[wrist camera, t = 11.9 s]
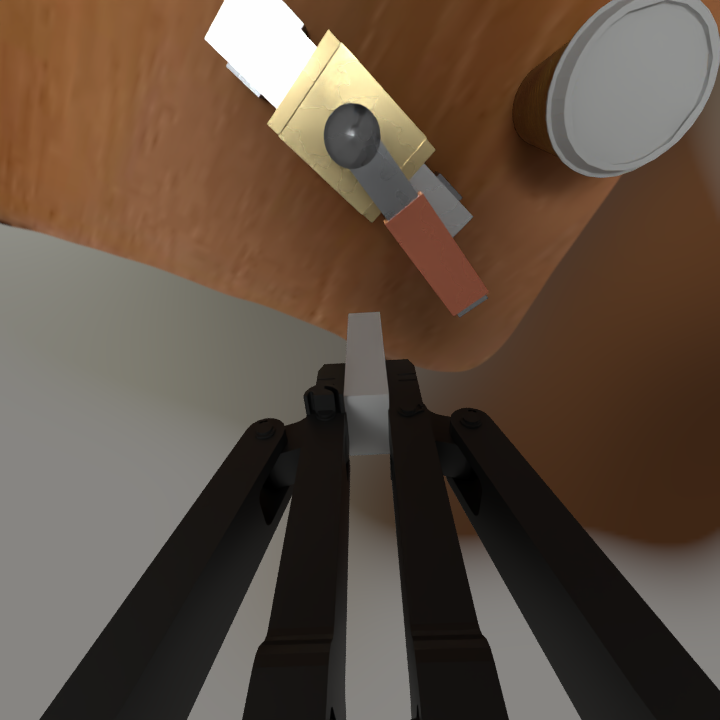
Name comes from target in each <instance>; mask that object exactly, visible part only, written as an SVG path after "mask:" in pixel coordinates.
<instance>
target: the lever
mask: <svg viewBox="0 0 720 720" xmlns="http://www.w3.org/2000/svg"><path fill="white" fill-rule="evenodd" d="M380 139H381V134H380V127H379V124H378V121H377V119H376V117H375V116H374V114H373V113H372V112H371V111H370V110H369V109H368V108H366V107H365V106H363V105H361V104H357V103H346V104H343V105H341V106H339V107H337V108H336V109H335V110H334V111H333V112H332V113H331V114H330V116H329V117H328V119H327V121H326V124H325V128H324V143H325V147H326V150H327V152H328V154H329V156H330V157H331V158H332V160H333V161H334V162H335V163H337V164H338V165H340V166H342V167H344V168H348V169H350V171H351V172H352V173H353V175H354V176H355V177H356V179H357V180H358V181H359V183H360V184H361V186H362V187H363V188H364V190H365V191H366V192H367V194H368V195H369V196H370V198H371V199H372V200H373V202H374V203H375V204H376V206H377V207H378V208H379V210H380V211H381V212H382V214H383V215H384V216H385V218H386V219H385V220H384V223H385V226H386V227H387V228H388V230H389V231H390V232H391V234H392V235H393V236H394V238H395V239H396V240H397V242H398V243H399V244H400V246H401V247H402V248H403V250H404V251H405V252H406V254H407V255H408V256H409V258H410V259H411V260H412V262H413V263H414V264H415V266H416V267H417V268H418V270H419V271H420V272H421V274H422V275H423V276H424V278H425V279H426V280H427V282H428V283H429V284H430V286H431V287H432V288H433V290H434V291H435V292H436V294H437V295H438V296H439V298H440V299H441V300H442V302H443V303H444V304H445V306H446V307H447V308H448V310H449V311H450V312H451V314H452V315H453V316H455V315H458V316H459V318H460V317H461V316H462V315H464V314H465V313H467V312H468V311H470V310H471V309H473V308H474V307H476V306H477V305H479V304H480V303H482V302H483V301H485V300H486V299H488V297H487V296H486V294H487V293H489V291H488V289H487V288H486V286H485V285H484V284H483V282H482V281H481V279H480V278H479V276H478V275H477V273H476V272H475V270H474V269H473V267H472V266H471V264H470V263H469V261H468V260H467V258H466V257H465V255H464V254H463V252H462V251H461V249H460V248H459V246H458V245H457V243H456V242H455V240H454V239H453V237H452V236H451V234H450V233H449V232H448V230H447V229H446V227H445V226H444V224H443V223H442V221H441V220H440V218H439V217H438V215H437V214H436V212H435V211H434V209H433V208H432V206H431V205H430V203H429V202H428V200H427V199H426V197H425V196H424V194H423V193H422V192H421V191H419V192H418V193H416V191H415V190H414V188H413V187H412V185H411V184H410V182H409V181H408V180H407V178H406V177H405V175H404V174H403V172H402V171H401V169H400V168H399V166H398V165H397V163H396V162H395V160H394V159H393V158H392V156H391V155H390V153H389V152H388V150H387V149H386V147H385V146H384V144H383V143H382V141H381V140H380Z"/></svg>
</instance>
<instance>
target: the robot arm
mask: <svg viewBox="0 0 720 720" xmlns="http://www.w3.org/2000/svg"><path fill="white" fill-rule="evenodd" d="M304 402H305V408H306V414H307V417H306V418H304V419H303V420H301V421H299V422H297V423H294V424H290V425H286V426H284V423H282V422H281V421H280V420H277V419H274V418H268V419H263V420H259V421H257V422H255V423H253V424H252V425H251V426H250V427H249V428H248V429H247V430H246V431H245V433H244V434H243V435H242V437H241V438H240V440H239V441H238V442H237V444H236V445H235V447H234V448H233V449H232V451H231V452H230V454H229V455H228V457H227V458H226V459H225V461H224V462H223V464H222V465H221V467H220V468H219V469H218V471H217V472H216V473H215V475H214V476H213V477H212V479H211V480H210V482H209V483H208V485H207V486H206V487H205V489H204V490H203V491H202V493H201V494H200V496H199V497H198V498H197V500H196V501H195V503H194V504H193V505H192V507H191V508H190V510H189V511H188V513H187V514H186V515H185V517H184V518H183V520H182V521H181V522H180V524H179V525H178V526H177V528H176V529H175V531H174V532H173V534H172V535H171V536H170V538H169V539H168V541H167V542H166V543H165V545H164V546H163V547H162V549H161V550H160V552H159V553H158V554H157V556H156V557H155V559H154V560H153V561H152V563H151V564H150V566H149V567H148V568H147V570H146V571H145V573H144V574H143V575H142V577H141V578H140V580H139V581H138V582H137V584H136V585H135V587H134V588H133V589H132V591H131V592H130V594H129V595H128V596H127V598H126V599H125V601H124V602H123V603H122V605H121V606H120V608H119V609H118V610H117V612H116V613H115V615H114V616H113V617H112V619H111V621H110V622H109V623H108V624H107V626H106V627H105V629H104V630H103V631H102V633H101V634H100V636H99V637H98V638H97V640H96V641H95V643H94V644H93V645H92V647H91V648H90V650H89V651H88V653H87V654H86V655H85V657H84V658H83V659H82V661H81V662H80V664H79V665H78V666H77V668H76V670H75V671H74V672H73V673H72V675H71V676H70V678H69V679H68V680H67V682H66V683H65V685H64V686H63V687H62V689H61V690H60V692H59V693H58V694H57V696H56V697H55V699H54V700H53V701H52V703H51V704H50V706H49V707H48V708H47V710H46V711H45V713H44V714H43V715H42V717H41V718H40V720H187V718H188V716H189V713H190V712H191V709H192V707H193V705H194V703H195V701H196V699H197V697H198V695H199V692H200V690H201V688H202V686H203V684H204V682H205V679H206V677H207V675H208V673H209V671H210V669H211V667H212V665H213V662H214V660H215V658H216V656H217V654H218V652H219V650H220V648H221V645H222V643H223V641H224V639H225V637H226V635H227V633H228V631H229V628H230V626H231V624H232V622H233V620H234V617H235V616H236V613H237V611H238V609H239V607H240V605H241V603H242V601H243V599H244V596H245V594H246V592H247V590H248V588H249V586H250V583H251V581H252V579H253V577H254V575H255V573H256V571H257V569H258V567H259V564H260V562H261V560H262V558H263V556H264V554H265V551H266V549H267V547H268V545H269V543H270V541H271V539H272V537H273V534H274V532H275V530H276V528H277V526H278V524H279V522H280V520H281V517H282V515H283V513H284V511H285V509H286V507H287V505H288V503H289V500H290V498H291V496H292V499H291V505H290V511H289V516H288V522H287V527H286V533H285V538H284V544H283V549H282V555H281V561H280V566H279V572H278V577H277V583H276V588H275V594H274V599H273V605H272V610H271V617H270V621H269V627H268V632H267V636H266V638H265V641H264V642H263V643H262V644H261V645H260V646H259V648H258V650H257V653H256V655H255V660H254V663H253V668H252V673H251V678H250V683H249V688H248V693H247V698H246V703H245V708H244V713H243V719H242V720H346V704H345V663H346V621H347V580H348V537H349V496H350V460H349V453H350V456H351V455H373V454H390V470H391V480H392V489H393V501H394V511H395V523H396V535H397V546H398V558H399V569H400V580H401V592H402V603H403V613H404V625H405V637H406V648H407V660H408V671H409V683H410V696H411V697H410V698H411V716H412V719H411V720H509V718H508V714H507V710H506V707H505V702H504V698H503V694H502V690H501V686H500V683H499V679H498V674H497V670H496V666H495V662H494V659H493V655H492V652H491V648H490V646H489V644H488V641H487V639H486V638H485V637H484V636H483V635H482V633H481V631H480V628H479V624H478V621H477V616H476V612H475V608H474V604H473V600H472V595H471V591H470V587H469V583H468V579H467V574H466V570H465V566H464V562H463V558H462V553H461V549H460V545H459V541H458V536H457V533H456V528H455V524H454V519H453V515H452V511H451V507H450V502H449V498H448V494H447V490H446V486H445V481H444V477H443V475H444V476H446V478H447V481H448V482H449V484H450V486H451V488H452V490H453V491H454V493H455V495H456V497H457V499H458V500H459V502H460V504H461V506H462V508H463V509H464V511H465V513H466V515H467V516H468V518H469V520H470V522H471V524H472V525H473V527H474V529H475V530H476V532H477V534H478V536H479V538H480V539H481V541H482V543H483V545H484V547H485V548H486V550H487V552H488V554H489V556H490V557H491V559H492V561H493V563H494V565H495V566H496V568H497V570H498V572H499V573H500V575H501V577H502V579H503V580H504V582H505V584H506V586H507V587H508V589H509V591H510V593H511V595H512V596H513V598H514V600H515V602H516V604H517V605H518V607H519V609H520V611H521V613H522V614H523V616H524V618H525V620H526V621H527V623H528V625H529V627H530V629H531V630H532V632H533V634H534V636H535V637H536V639H537V641H538V643H539V645H540V646H541V648H542V650H543V652H544V653H545V655H546V657H547V659H548V660H549V662H550V664H551V666H552V668H553V669H554V671H555V673H556V675H557V676H558V678H559V680H560V682H561V684H562V686H563V687H564V689H565V691H566V692H567V694H568V696H569V698H570V700H571V701H572V703H573V705H574V707H575V709H576V710H577V712H578V714H579V716H580V718H581V719H582V720H720V690H719V689H718V688H717V687H716V686H715V684H714V683H713V682H712V681H711V680H710V679H709V677H708V676H707V675H706V674H705V673H704V671H703V670H702V669H701V668H700V667H699V665H698V664H697V663H696V662H695V661H694V660H693V658H692V657H691V656H690V655H689V654H688V652H687V651H686V650H685V649H684V648H683V646H682V645H681V644H680V643H679V642H678V640H677V639H676V638H675V637H674V636H673V634H672V633H671V632H670V631H669V630H668V629H667V627H666V626H665V625H664V624H663V623H662V621H661V620H660V619H659V618H658V617H657V616H656V614H655V613H654V612H653V611H652V610H651V608H650V607H649V606H648V605H647V604H646V602H645V601H644V600H643V599H642V598H641V596H640V595H639V594H638V593H637V592H636V590H635V589H634V588H633V587H632V586H631V584H630V583H629V582H628V581H627V580H626V579H625V577H624V576H623V575H622V574H621V573H620V571H619V570H618V569H617V568H616V567H615V565H614V564H613V563H612V562H611V561H610V560H609V558H608V557H607V556H606V555H605V554H604V552H603V551H602V550H601V549H600V548H599V546H598V545H597V544H596V543H595V542H594V541H593V539H592V538H591V537H590V536H589V535H588V533H587V532H586V531H585V530H584V529H583V528H582V526H581V525H580V524H579V523H578V521H577V520H576V519H575V518H574V517H573V515H572V514H571V513H570V512H569V511H568V510H567V508H566V507H565V506H564V505H563V504H562V502H561V501H560V500H559V499H558V498H557V496H556V495H555V494H554V493H553V492H552V490H551V489H550V488H549V487H548V486H547V485H546V483H545V482H544V481H543V480H542V479H541V477H540V476H539V475H538V474H537V473H536V471H535V470H534V469H533V468H532V467H531V466H530V464H529V463H528V462H527V461H526V460H525V458H524V457H523V456H522V455H521V454H520V452H519V451H518V450H517V449H516V448H515V446H514V445H513V444H512V443H511V442H510V441H509V439H508V438H507V437H506V436H505V434H504V433H503V432H502V431H501V430H500V429H499V427H498V426H497V425H496V424H495V423H494V421H493V420H492V419H491V418H490V417H489V416H488V415H487V414H486V413H484V412H482V411H480V410H478V409H473V408H461V409H459V410H457V411H455V412H454V413H453V414H452V415H451V417H448V416H442V415H438V414H435V413H433V412H431V411H429V410H428V409H427V408H426V406H425V404H423V402H422V398H421V393H420V389H419V385H418V381H417V376H416V372H415V367H414V365H413V364H412V363H411V362H410V361H409V360H408V359H402V360H385V355H384V346H383V337H382V328H381V318H380V312H367V313H349V314H348V331H347V348H346V363H341V364H324V365H323V367H322V368H321V369H320V370H319V371H318V376H317V382H316V386H313V387H311V388H309V389H308V390H307V391H306V392H305V394H304Z"/></svg>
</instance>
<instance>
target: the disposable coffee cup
mask: <svg viewBox="0 0 720 720" xmlns="http://www.w3.org/2000/svg"><path fill="white" fill-rule="evenodd" d="M719 62H720V39H719V33H718V28H717V24H716V22H715V20H714V18H713V16H712V14H711V12H710V10H709V9H708V8H707V7H706V6H705V5H704V4H703V3H702V2H701V1H700V0H612V1H611V2H609V3H608V4H606V5H605V6H603V7H602V8H601V9H599V10H598V11H597V12H596V13H595V14H594V15H593V16H591V17H590V18H589V19H588V20H587V21H586V22H585V24H584V25H583V26H582V27H581V28H580V29H579V30H578V31H577V33H576V34H575V35H574V36H573V38H572V39H571V40H570V41H569V42H568V43H566V44H565V45H564V46H562V47H561V48H560V49H559V50H557V51H556V52H555V53H553V54H552V55H551V56H550V57H548V58H547V59H546V60H545V61H543V62H542V63H541V64H539V65H538V66H537V67H535V68H534V69H533V70H532V71H531V72H530V73H529V74H528V75H527V76H526V78H525V79H524V80H523V82H522V84H521V85H520V87H519V89H518V91H517V94H516V96H515V100H514V104H513V122H514V125H515V129H516V131H517V133H518V134H519V136H520V137H521V138H522V139H523V140H524V141H525V142H527V143H529V144H531V145H533V146H535V147H538V148H540V149H542V150H544V151H546V152H549V153H551V154H553V155H555V156H557V157H559V158H560V159H561V161H562V162H563V163H564V164H566V165H567V166H568V167H569V168H570V169H572V170H574V171H576V172H578V173H580V174H582V175H585V176H591V177H599V178H603V177H612V176H618V175H621V174H624V173H627V172H630V171H633V170H635V169H637V168H638V167H640V166H642V165H644V164H646V163H648V162H650V161H652V160H654V159H656V158H657V157H658V156H660V155H661V154H663V153H664V152H665V151H667V150H668V149H669V148H670V147H672V146H673V145H674V144H675V143H676V142H678V141H679V140H680V138H681V137H682V136H683V135H684V134H685V133H686V132H687V131H688V129H689V128H690V127H691V126H692V125H693V123H694V122H695V120H696V119H697V117H698V116H699V114H700V113H701V111H702V110H703V108H704V106H705V104H706V102H707V100H708V98H709V96H710V93H711V91H712V88H713V86H714V83H715V79H716V75H717V71H718V67H719Z"/></svg>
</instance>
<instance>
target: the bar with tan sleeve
mask: <svg viewBox="0 0 720 720" xmlns="http://www.w3.org/2000/svg"><path fill="white" fill-rule="evenodd" d="M306 32H307V30H306V27H305V25H304V24H303V23H302V21H301V20H300V19H299V18H298V17H297V16H296V15H295V14H294V13H293V12H292V11H291V9H290V8H289V7H288V6H287V5H286V4H285V3H284V2H283V1H282V0H225V1H224V3H223V4H222V6H221V8H220V10H219V12H218V14H217V16H216V18H215V20H214V21H213V23H212V25H211V27H210V29H209V31H208V33H207V35H206V37H205V40H206V41H207V42H208V43H209V44H210V45H211V46H212V47H213V48H214V49H215V50H217V51H218V52H219V53H220V54H221V55H222V56H223V57H224V58H225V59H226V60H227V61H228V64H227V65H226V67H227V68H229V69H230V70H231V71H232V72H233V73H234V74H235V75H236V76H237V77H238V78H239V79H240V80H241V81H242V82H243V83H244V84H245V85H246V86H247V87H248V88H249V89H250V90H251V91H252V92H253V93H255V94H256V95H257V96H258V97H259V98H261V99H264V98H266V99H267V100H268V101H269V102H270V103H271V104H272V105H273V106H274V107H275V108H276V109H277V110H276V111H275V113H274V114H273V116H272V117H271V119H270V120H269V122H268V123H267V125H268V126H270V127H271V128H272V129H273V130H274V131H275V132H276V133H277V134H278V135H279V137H280V138H281V139H282V140H283V141H284V142H285V143H286V144H287V145H288V146H289V147H290V148H291V149H292V150H293V151H294V152H296V153H297V154H298V155H299V156H300V157H301V158H302V159H303V160H304V161H305V162H306V163H307V164H308V165H309V166H310V167H311V168H313V169H314V170H315V171H316V172H317V173H318V174H319V175H320V176H321V177H322V178H323V179H324V180H325V181H326V182H327V183H329V184H330V185H331V186H332V187H333V188H334V189H335V190H336V191H337V192H338V193H339V194H340V195H341V196H342V197H343V198H344V199H346V200H347V201H348V202H349V203H350V204H351V205H352V206H353V207H354V208H355V209H356V210H357V211H358V212H359V213H360V214H361V215H362V214H363V215H364V216H365V217H366V218H367V219H368V220H369V221H370V222H371V223H373V222H374V220H375V219H376V218H377V217H378V216H379V215H380V213H381V211H380V210H379V208H378V207H377V206H376V204H375V203H374V202H373V200H372V199H371V198H370V196H369V195H368V194H367V192H366V191H365V190H364V188H363V187H362V186H361V184H360V183H359V181H358V180H357V179H356V177H355V176H354V175H353V173H352V172H351V171H350V169H348V168H344V167H342V166H340V165H338V164H337V163H335V162H334V161H333V160H332V158H331V157H330V156H329V154H328V152H327V150H326V147H325V143H324V128H325V124H326V121H327V119H328V117H329V116H330V114H331V113H332V112H333V111H334V110H335V109H336V108H337V107H339V106H341V105H343V104H346V103H357V104H361V105H363V106H365V107H366V108H368V109H369V110H370V111H371V112H372V113H373V114H374V116H375V117H376V119H377V121H378V124H379V127H380V134H381V139H380V140H381V141H382V143H383V144H384V146H385V147H386V149H387V150H388V152H389V153H390V155H391V156H392V158H393V159H394V160H395V162H396V163H397V165H398V166H399V168H400V169H401V171H402V172H403V174H404V175H405V177H406V178H407V180H408V181H409V182H410V184H411V185H412V187H413V188H414V190H415V191H416V193H418V192H419V191H421V192H422V193H423V194H424V196H425V197H426V199H427V200H428V202H429V203H430V205H431V206H432V208H433V209H434V211H435V212H436V214H437V215H438V217H439V218H440V220H441V221H442V223H443V224H444V226H445V227H446V229H447V230H448V232H449V233H450V234H451V236H452V237H454V236H455V235H456V234H457V233H458V232H459V231H460V230H461V229H462V228H463V227H464V226H465V225H466V224H467V223H468V222H469V221H470V220H471V219H472V218H473V216H472V215H471V214H470V213H469V212H468V211H467V209H466V208H465V207H464V206H463V205H462V204H461V203H460V202H459V201H460V200H461V198H462V197H461V196H460V195H459V193H458V192H457V191H456V190H455V189H454V188H453V187H452V186H451V185H450V184H449V182H448V181H447V180H446V179H445V178H444V177H443V176H442V175H441V174H440V173H438V172H435V173H434V174H433V173H432V171H431V170H430V169H429V168H428V167H427V166H426V165H425V164H424V163H425V161H426V160H427V159H428V158H429V157H430V156H431V155H432V153H433V152H434V151H435V150H436V149H435V148H434V147H433V146H432V145H431V144H430V143H429V142H428V140H427V139H426V138H427V137H426V136H425V135H424V134H423V133H422V132H421V131H420V130H419V128H418V127H417V126H416V125H415V124H414V123H413V122H412V121H411V120H410V118H409V117H408V116H407V115H406V114H405V113H404V112H403V111H402V109H401V108H400V107H399V106H398V105H397V104H396V103H395V102H394V100H393V99H392V98H391V97H390V96H389V95H388V94H387V93H386V91H385V90H384V89H383V88H382V87H381V86H380V85H379V84H378V82H377V81H376V80H375V79H374V78H373V77H372V76H371V75H370V73H369V72H368V71H367V70H366V69H365V68H364V67H363V66H362V65H361V63H360V62H359V61H358V60H357V59H356V58H355V57H354V56H353V54H352V53H351V52H350V51H349V50H348V49H347V48H346V47H345V45H344V44H343V43H342V42H341V43H340V42H339V41H338V40H337V39H336V37H335V36H334V35H333V34H332V33H331V32H330V31H329V30H328V31H327V33H326V34H325V36H324V37H323V39H322V40H321V42H320V43H319V45H318V46H317V47H316V46H315V45H314V43H313V42H312V41H311V40H310V39H309V38H308V37H307V36H306V35H305V33H306Z"/></svg>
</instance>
